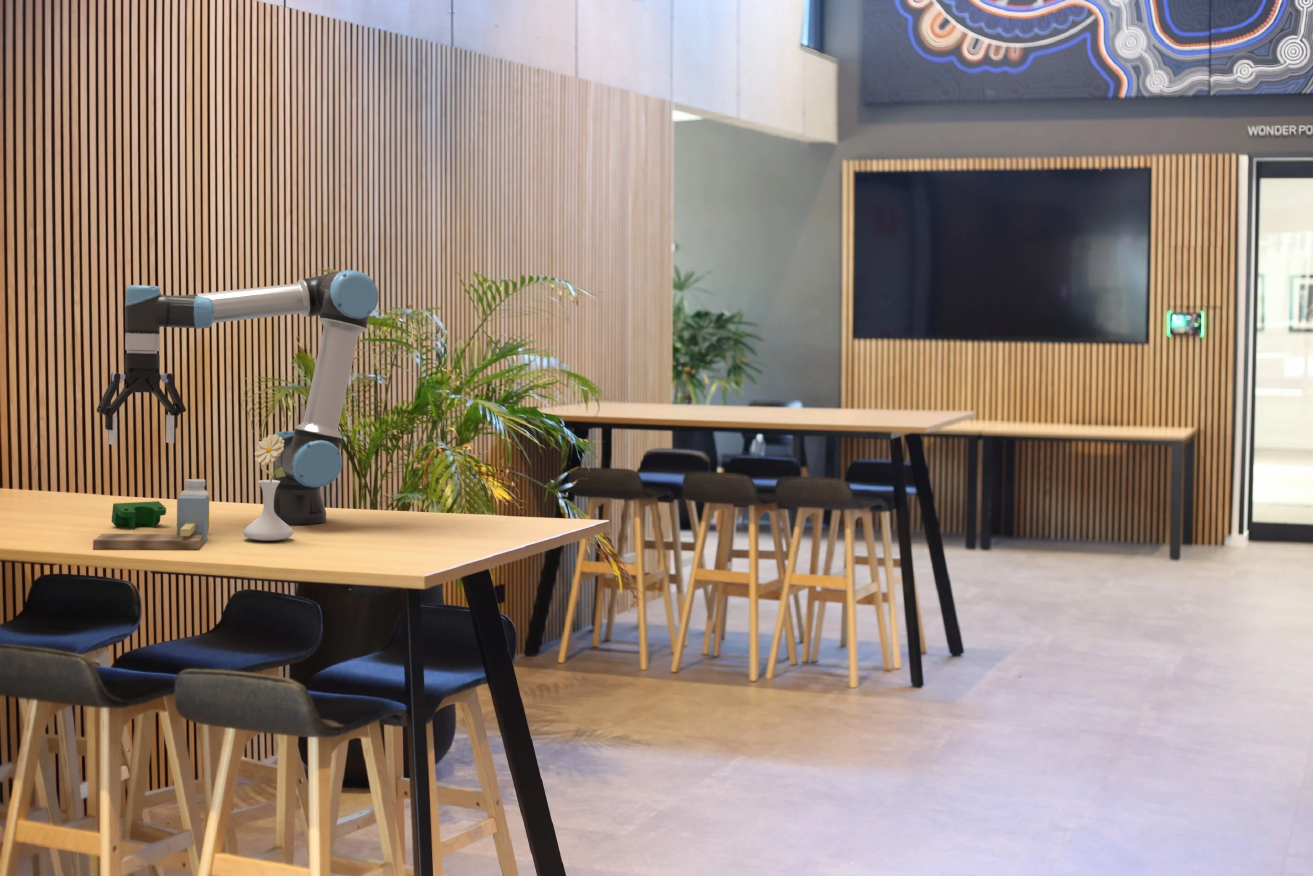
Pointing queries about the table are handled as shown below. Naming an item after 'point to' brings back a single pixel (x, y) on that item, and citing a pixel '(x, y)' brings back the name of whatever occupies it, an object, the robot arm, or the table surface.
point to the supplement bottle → (196, 490)
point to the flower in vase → (269, 495)
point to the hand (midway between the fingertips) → (141, 443)
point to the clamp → (137, 514)
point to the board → (148, 542)
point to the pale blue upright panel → (192, 515)
